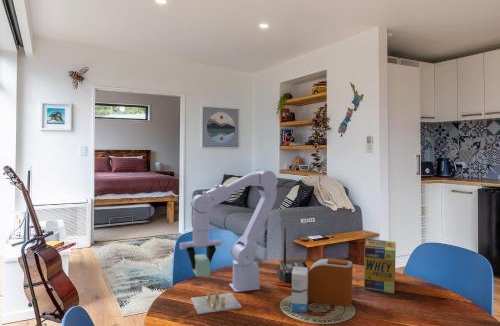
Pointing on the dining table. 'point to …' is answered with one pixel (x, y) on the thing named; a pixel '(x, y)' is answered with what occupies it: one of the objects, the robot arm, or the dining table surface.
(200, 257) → the mint green cuboid
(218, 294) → the standoff posts
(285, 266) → the wireless controller
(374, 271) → the protein box
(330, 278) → the brown toaster
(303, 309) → the ink box
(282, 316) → the dining table surface
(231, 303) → the plate
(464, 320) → the dining table surface
